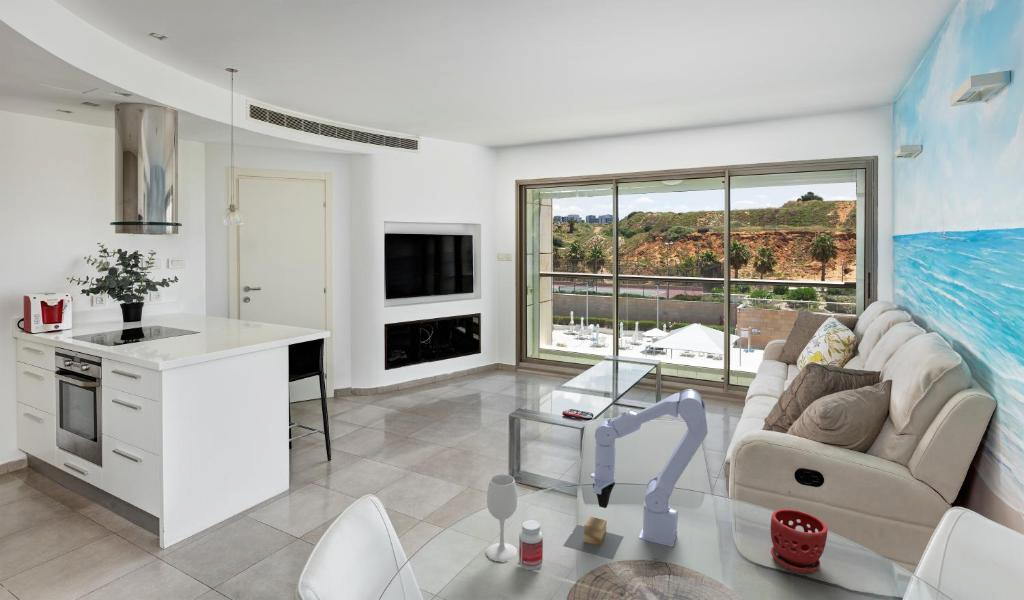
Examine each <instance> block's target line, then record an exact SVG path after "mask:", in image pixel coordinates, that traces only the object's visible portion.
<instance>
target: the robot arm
mask: <svg viewBox="0 0 1024 600" xmlns="http://www.w3.org/2000/svg"><path fill="white" fill-rule="evenodd" d="M666 415H669V416H672V417H675V418H678V417H679V416H680V417H681V418H682V420H683V421H684V423H685V425H686V427H687V430H686V432H685V433H684V434H683V436H682V437H681V439H680V441H679V442H678V444H677V446H676V447H675V449H674V450H673V452H672V454H671V455H670V457H668V458H669V459H668V460H667V462H665V465H664V466H663V468H662V469H661V471H659V472H658V473H657V474H656V475H655V477H653V478H651V479H650V480H649V481H648V482H647V485H646V494H645V497H644V502H643V516H642V517H643V519H642V520H643V521H642V529H641V531H640V532H639V535H638V538H639V540H644V541H648V542H652V543H656V544H660V545H664V546H667V545H668V547H671V548H673V547H674V546H675V542H676V540H677V539H676V538H677V536H678V521H679V518H678V517H679V512H678V510H677V509H674V508H672V507H671V506H670V505H671V504H669V500H670V498H671V496H672V494H673V491H674V489H675V485H676V484H677V482H678V481H679V479H680V477H681V476H682V475H683V473H684V472H685V469H686V468H687V466H688V465H689V463H690V462H691V460H692V459H693V458H694V456H695V454H696V452H698V450H699V448H700V446H701V445H702V443H703V441H704V440H705V439H706V438H707V435H708V434H709V433H708V432H709V431H708V423H707V422H708V420H707V414H706V405H705V401H704V400H703V397H702V396H701V394H700V393H699V392H698V391H697V390H694V389H692V388H691V389H689V388H688V389H684V390H682V391H681V392H676V393H673V394H672V395H669V396H668V397H665V398H664V399H661V400H660V401H658V402H656V403H654V404H652V405H650V406H648V407H645V408H643V409H641V410H640V411H637V412H636V411H632V410H629V411H627V410H624V411H622V412H621V414H620V415H618V416H615V417H613V418H611V417H609V418H607V419H606V420H602V421H601V422H599V423H598V425H597V428H596V429H595V433H594V439H595V448H594V449H595V451H594V456H595V457H594V472H592V473H591V474H590V478H591V479H593V482H594V483H593V484H592V488H593V493H594V494H596V497H597V502H598V506H599V508H604V509H606V508H607V507H608V505H609V501H610V497H611V493H612V491H613V489H614V487H615V485H616V482H615V481H616V477H615V473H616V472H615V470H616V469H615V468H616V467H615V466H616V460H615V459H616V439H621V438H623V437H625V436H628V435H631V434H632V433H634V432H637V431H639V430H640V429H641V426H642V424H644V423H647V422H650V421H652V420H653V421H654V420H655V419H658V418H661V417H663V416H666Z"/></svg>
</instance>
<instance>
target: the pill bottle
mask: <svg viewBox="0 0 1024 600" xmlns="http://www.w3.org/2000/svg"><path fill="white" fill-rule="evenodd" d="M521 527H522V528H521V531H520V533H519V538H518V539H519V540H518V544H519V546H518V561H519V562H518V563H519V566H520V567H521V568H523V569H524V570H526V571H535V570H538V569H540V568H541V567H542V565H543V561H544V560H543V558H544V557H543V553H544V552H543V551H544V549H543V548H544V547H543V545H544V543H543V541H544V536H543V533H542V532H541V523H540V522H539V521H537V520H534V519H533V520H532V519H531V520H529V519H527V520H525V521H523V523H522V525H521Z"/></svg>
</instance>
